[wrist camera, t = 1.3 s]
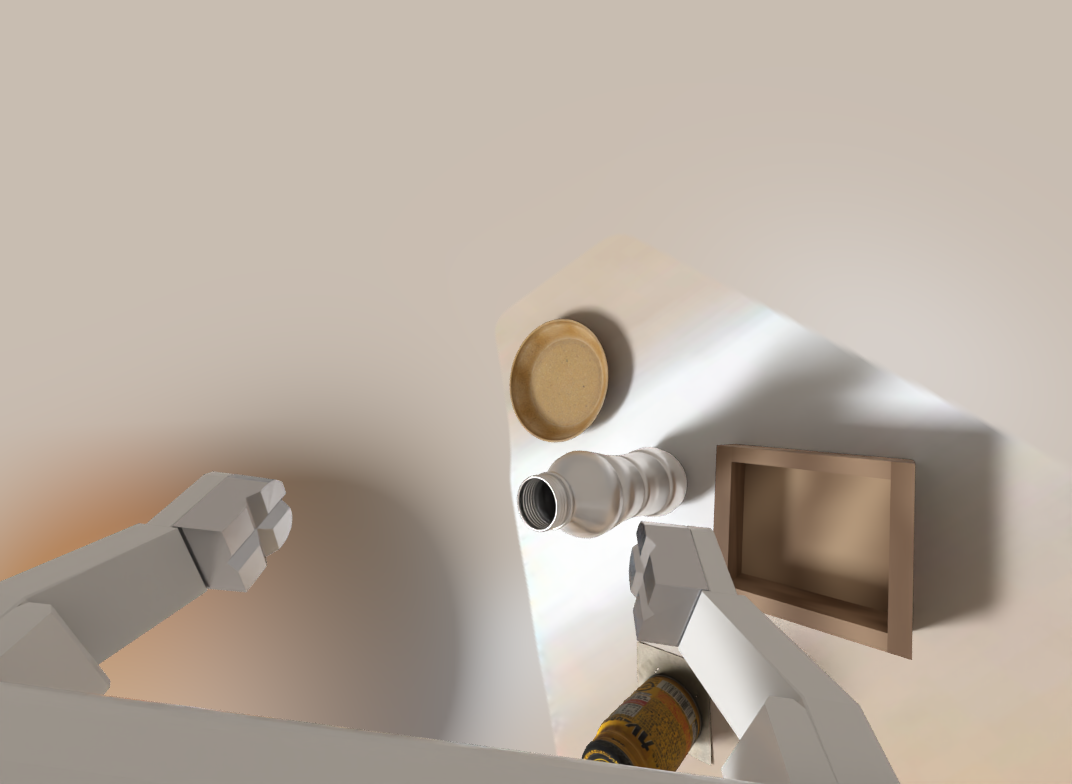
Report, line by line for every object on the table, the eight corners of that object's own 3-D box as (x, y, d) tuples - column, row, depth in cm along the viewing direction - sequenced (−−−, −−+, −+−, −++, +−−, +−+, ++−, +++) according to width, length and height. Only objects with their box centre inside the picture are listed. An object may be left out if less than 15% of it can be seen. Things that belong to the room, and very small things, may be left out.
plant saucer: (516, 344, 59) (502, 341, 57) (607, 305, 50) (595, 299, 48) (530, 450, 56) (517, 451, 54) (630, 429, 47) (618, 429, 45)
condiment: (638, 727, 43) (569, 806, 34) (637, 640, 44) (570, 695, 35) (712, 764, 39) (655, 867, 30) (710, 666, 39) (653, 737, 30)
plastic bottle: (648, 520, 44) (518, 567, 29) (624, 459, 47) (491, 472, 31) (705, 501, 41) (591, 542, 25) (675, 435, 43) (555, 438, 28)
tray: (912, 459, 31) (915, 463, 28) (910, 631, 31) (911, 660, 27) (734, 444, 39) (716, 445, 36) (729, 580, 39) (710, 596, 35)
